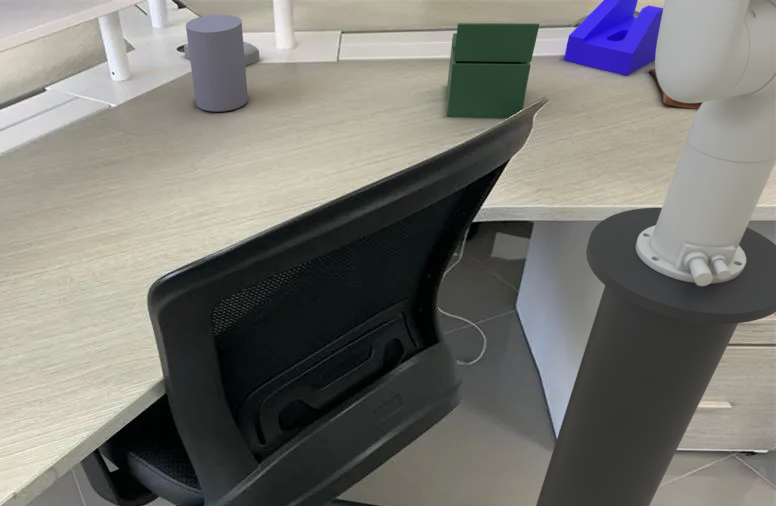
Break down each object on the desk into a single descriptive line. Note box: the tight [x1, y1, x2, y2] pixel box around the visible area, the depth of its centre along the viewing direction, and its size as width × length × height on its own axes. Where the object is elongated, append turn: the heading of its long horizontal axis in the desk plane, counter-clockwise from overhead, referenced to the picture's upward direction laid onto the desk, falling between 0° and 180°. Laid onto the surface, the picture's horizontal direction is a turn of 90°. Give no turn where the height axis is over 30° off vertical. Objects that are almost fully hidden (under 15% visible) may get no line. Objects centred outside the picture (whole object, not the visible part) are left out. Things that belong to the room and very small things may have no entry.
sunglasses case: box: [648, 67, 703, 110], centre depth 131 cm, size 18×7×7 cm
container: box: [185, 14, 249, 113], centre depth 134 cm, size 10×10×15 cm
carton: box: [446, 32, 531, 119], centre depth 129 cm, size 14×13×10 cm
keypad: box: [183, 41, 261, 67], centre depth 156 cm, size 10×4×15 cm
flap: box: [453, 22, 540, 63], centre depth 118 cm, size 7×13×1 cm
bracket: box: [563, 0, 664, 77], centre depth 144 cm, size 21×14×10 cm, turn 132°
